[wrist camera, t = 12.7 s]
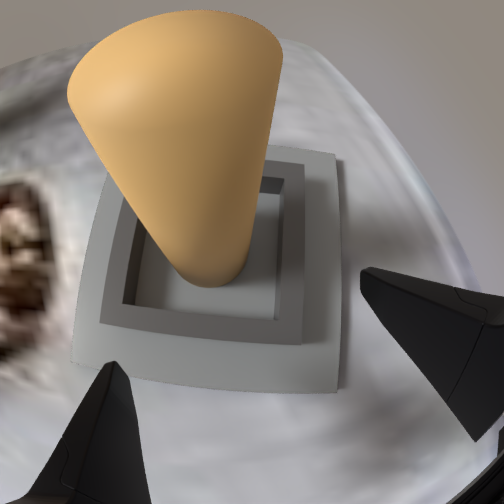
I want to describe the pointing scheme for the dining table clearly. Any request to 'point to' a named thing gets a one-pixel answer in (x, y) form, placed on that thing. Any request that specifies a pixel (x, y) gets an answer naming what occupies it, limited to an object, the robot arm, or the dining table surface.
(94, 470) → the robot arm
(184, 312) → the socket
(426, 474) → the dining table surface
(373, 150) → the dining table surface
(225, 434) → the dining table surface
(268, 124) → the rounded tan peg
